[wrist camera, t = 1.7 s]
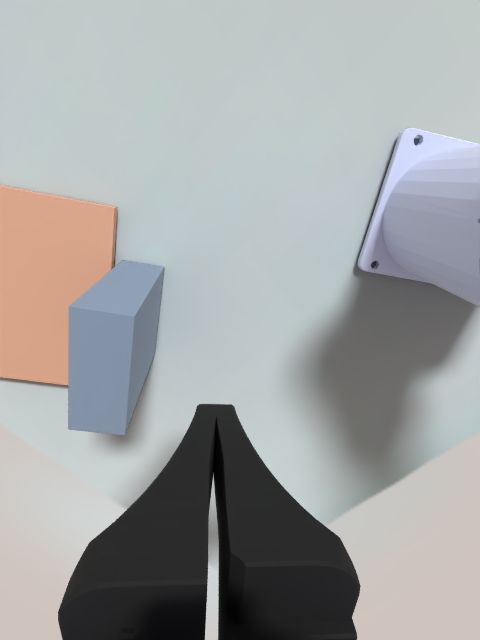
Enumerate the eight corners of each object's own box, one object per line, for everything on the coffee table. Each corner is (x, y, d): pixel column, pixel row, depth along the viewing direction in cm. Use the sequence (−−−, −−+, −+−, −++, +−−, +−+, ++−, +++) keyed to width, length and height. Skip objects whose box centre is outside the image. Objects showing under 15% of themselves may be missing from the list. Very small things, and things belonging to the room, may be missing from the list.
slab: (164, 267, 21) (134, 316, 13) (154, 352, 23) (124, 435, 16) (122, 259, 21) (68, 306, 13) (117, 347, 23) (68, 429, 15)
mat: (117, 207, 19) (114, 208, 19) (107, 384, 24) (105, 389, 23) (-36, 178, 18) (-44, 178, 18) (-16, 369, 23) (-22, 374, 22)
